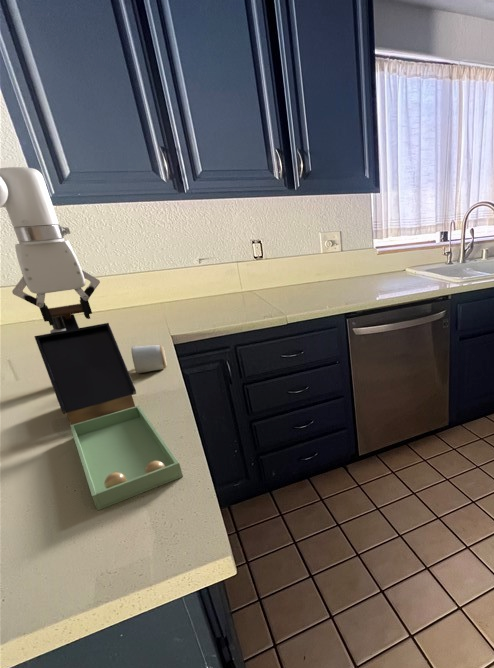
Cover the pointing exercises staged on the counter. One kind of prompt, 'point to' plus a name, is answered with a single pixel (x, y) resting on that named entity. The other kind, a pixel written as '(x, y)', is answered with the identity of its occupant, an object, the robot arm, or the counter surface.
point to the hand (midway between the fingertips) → (69, 320)
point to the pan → (83, 362)
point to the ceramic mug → (149, 358)
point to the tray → (122, 455)
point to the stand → (100, 410)
